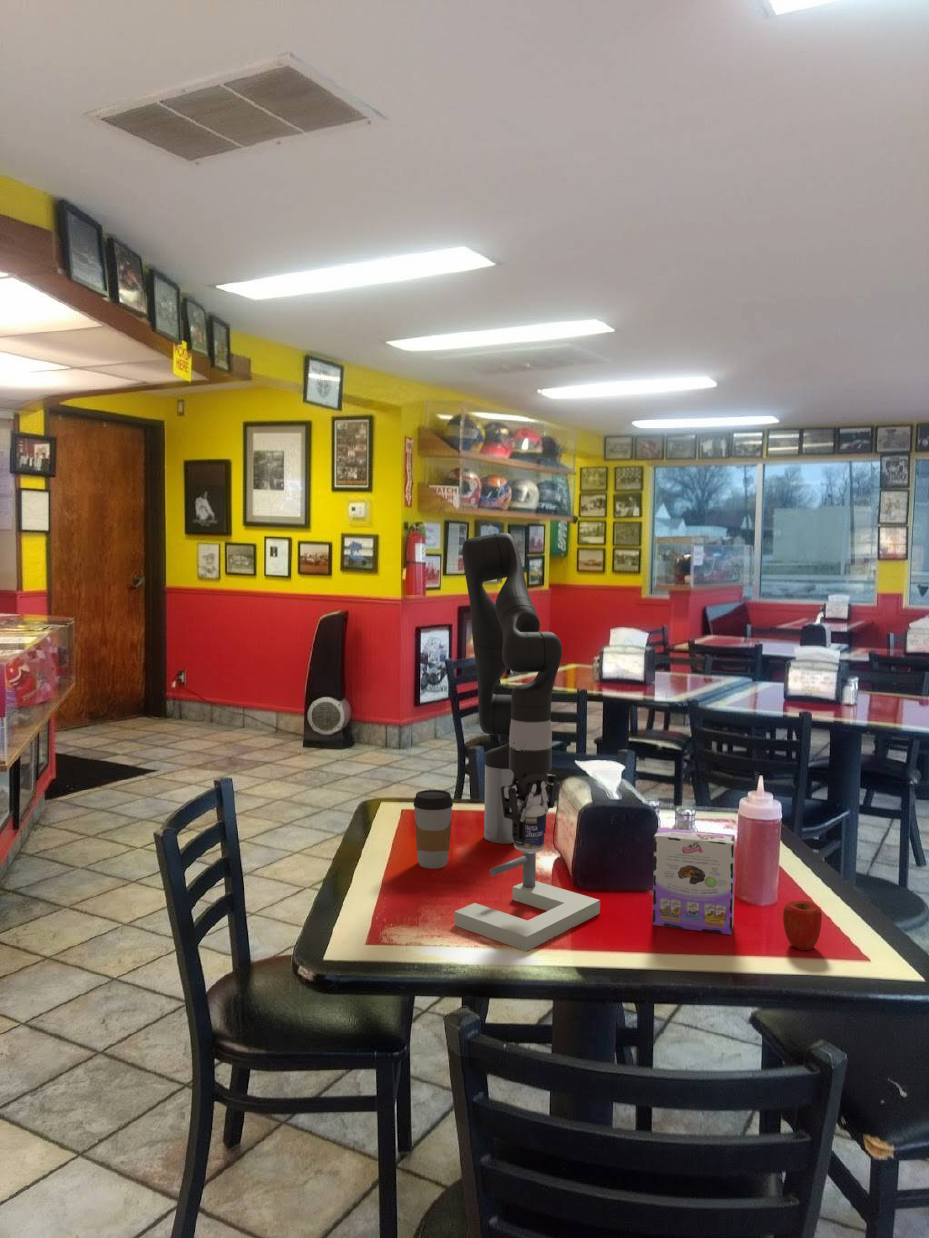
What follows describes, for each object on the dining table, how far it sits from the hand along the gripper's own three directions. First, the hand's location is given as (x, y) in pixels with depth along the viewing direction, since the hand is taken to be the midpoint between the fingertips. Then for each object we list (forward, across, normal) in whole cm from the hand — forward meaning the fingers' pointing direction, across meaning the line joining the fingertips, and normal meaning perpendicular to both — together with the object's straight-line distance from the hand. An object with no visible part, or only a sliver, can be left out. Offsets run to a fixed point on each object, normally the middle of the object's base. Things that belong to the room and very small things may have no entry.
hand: (529, 836), depth 167 cm
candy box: (+15, -18, +23) cm, 33 cm away
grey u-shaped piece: (+15, 0, 0) cm, 15 cm away
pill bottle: (+2, 0, 0) cm, 2 cm away
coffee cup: (+15, -10, -33) cm, 38 cm away
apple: (+15, -22, +41) cm, 49 cm away
